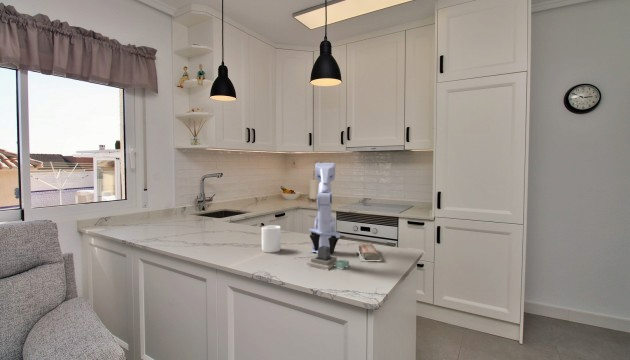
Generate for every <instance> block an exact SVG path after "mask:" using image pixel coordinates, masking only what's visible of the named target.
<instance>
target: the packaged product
mask: <svg viewBox="0 0 630 360" xmlns="http://www.w3.org/2000/svg"><path fill="white" fill-rule="evenodd" d="M358 249H359V251H360V254H361V256H362V257H363V259H365V260H382V261H383V259H382V257H381V256H380V253H379V252H378V250H377V248H375V245H373V243H371V242H365V243H360V244H359V245H358Z"/></svg>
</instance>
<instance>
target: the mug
mask: <svg viewBox="0 0 630 360" xmlns="http://www.w3.org/2000/svg"><path fill="white" fill-rule="evenodd" d="M281 231H282V228H281V225H276V224H273V225H272V224H271V225H270V224H269V225H263V226H262V227H261V251H262V252H263V253H266V252H267V253H269V254H270V253H271V254H274V253H278V252H280V251H281V247H282V245H281V244H282V242H281V239H282V236H281V235H282V233H281Z"/></svg>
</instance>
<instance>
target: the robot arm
mask: <svg viewBox="0 0 630 360" xmlns="http://www.w3.org/2000/svg"><path fill="white" fill-rule="evenodd" d="M314 171H315V172H314V173H315V180H316V181H317V182H319V184H318V188H317V189H318V190H317V191H318V192H317V194H316V205H317V216H316V217H315V218H314V228H309V230H308V232H309V233H308V234H309V238H310V240H311V250H310V252H311V253H313V251H314V252H317V253H316V254H318V248H319V247H321V246H326V247H330V254H331V255H333V254H335V252H334V250H335V249H336V245H337V243H338V241H339V240H340V238H341V232H338V231H335V230H336V227H335V225H336V223H335V217H334V216H333V215H332V207H333V192H332V184H331V183H332V182H334V181H335V177H336V163H335V162H316V163H315V169H314Z"/></svg>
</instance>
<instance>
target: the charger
mask: <svg viewBox="0 0 630 360" xmlns="http://www.w3.org/2000/svg"><path fill="white" fill-rule="evenodd" d="M317 256H318V259H319V260H324V261H328V260H330V259H331V256H332V254H330V247H326V246H321V247H319V248H318V253H317Z"/></svg>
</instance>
